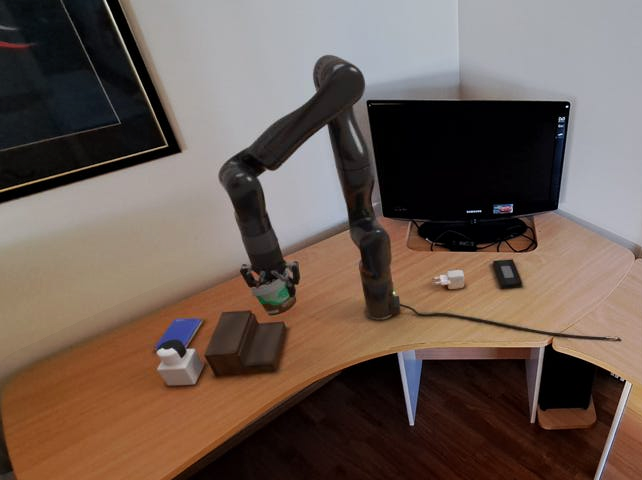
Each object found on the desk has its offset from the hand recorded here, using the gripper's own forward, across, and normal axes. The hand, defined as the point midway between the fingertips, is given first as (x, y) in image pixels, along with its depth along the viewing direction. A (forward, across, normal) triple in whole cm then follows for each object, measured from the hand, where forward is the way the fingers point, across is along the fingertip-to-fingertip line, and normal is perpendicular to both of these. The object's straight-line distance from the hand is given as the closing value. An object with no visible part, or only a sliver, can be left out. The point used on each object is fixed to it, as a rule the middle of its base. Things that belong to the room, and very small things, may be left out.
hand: (279, 296), depth 119 cm
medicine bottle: (+21, -29, -7) cm, 36 cm away
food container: (+3, +2, 0) cm, 4 cm away
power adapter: (+21, +47, +24) cm, 57 cm away
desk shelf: (+21, -13, 0) cm, 24 cm away
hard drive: (+21, -36, +9) cm, 42 cm away
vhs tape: (+21, +69, +28) cm, 78 cm away
